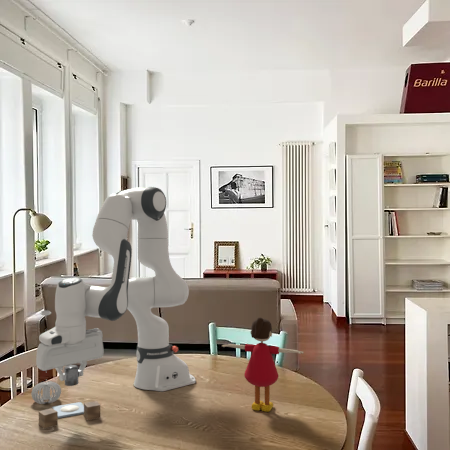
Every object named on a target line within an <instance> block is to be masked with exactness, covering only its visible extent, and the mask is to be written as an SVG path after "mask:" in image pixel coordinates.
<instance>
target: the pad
mask: <svg viewBox="0 0 450 450" xmlns="http://www.w3.org/2000/svg"><path fill="white" fill-rule="evenodd" d="M51 408H52V409H54V410H55V411H57V412H58V419H62V418H69V417H73V416H78V415H79V416H80V415H84V403H82V402H81V401H77V402H72V403H67V404H61V405H60V404H59V405H55V406H51Z"/></svg>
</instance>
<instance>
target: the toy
mask: <svg viewBox="0 0 450 450" xmlns="http://www.w3.org/2000/svg"><path fill="white" fill-rule="evenodd" d="M272 327H273V326H272V323H271V321H270V320H268V319H265V318H262V317H258V318H257V319H255V320H253V321H252V324H251V329H250V335H251V338H253V339H254V340H255V341H258V343H256V344H251V343H250V344H249V343H245V344H233V343H232V344H231V343H229V344H228V343H227V344H222V345H221V347H223V348H225V347H228V348H234V349H239V350H244V351H245V352H246V353H247V352H249V353H251V355H250V358H249V360H248V362H247V366H246V368H245V371H244V378H245V380H246V381H247V382H248V383H249V384H251V385H253V386H254V401H253V403H252V404H251V409H252V411H253V410H254V411H260V410H261V411H262V412H267V413H268V412H270V411H271V410H272V408H274V403H273V401H270V397H271V395H270V392H271V391H270V390H271V389H270V388H271V387H270V386H272V385H273V384H275V383H276V382H277V381H278V379H279V372H278V369H277V366H276V363H275V361H274V358H273V355H279V354H280V353H282V354H284V353H285V354H287V353H289V354H292V353H293V354H299V355H300V354H304V351H301V350H298V349H290V348H280V346H276V345H274V346H273V345H270V346H269V345H268V344H267V343H265V342H266V341H268V340H270V339H271V338H272V337H273V331H272V330H273V329H272ZM261 388H264V401H263V400H261Z"/></svg>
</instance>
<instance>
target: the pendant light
mask: <svg viewBox="0 0 450 450" xmlns="http://www.w3.org/2000/svg"><path fill="white" fill-rule="evenodd" d="M39 314H40V315H42V316H45V317H47V316H49V315H51V314H52V312H51V311H50V310H41V312H40V313H39ZM51 391H52V392H51ZM30 393H31V397H32V398H31V399H32V400H33V401H34V402H35V403H37V404H38V405H39V404H40V405H42V404H43V405H45V404H52V403H55V402H56V401H57V400H58V399H59V398H60V397H61V394H62V387H61V385H60V384H58V382H56V381H50V380H49V381H48V380H45V381H41V382H39V383H37V384H35V385H34V386H33V388H32V389H31V392H30ZM47 400H48V401H47Z"/></svg>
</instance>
